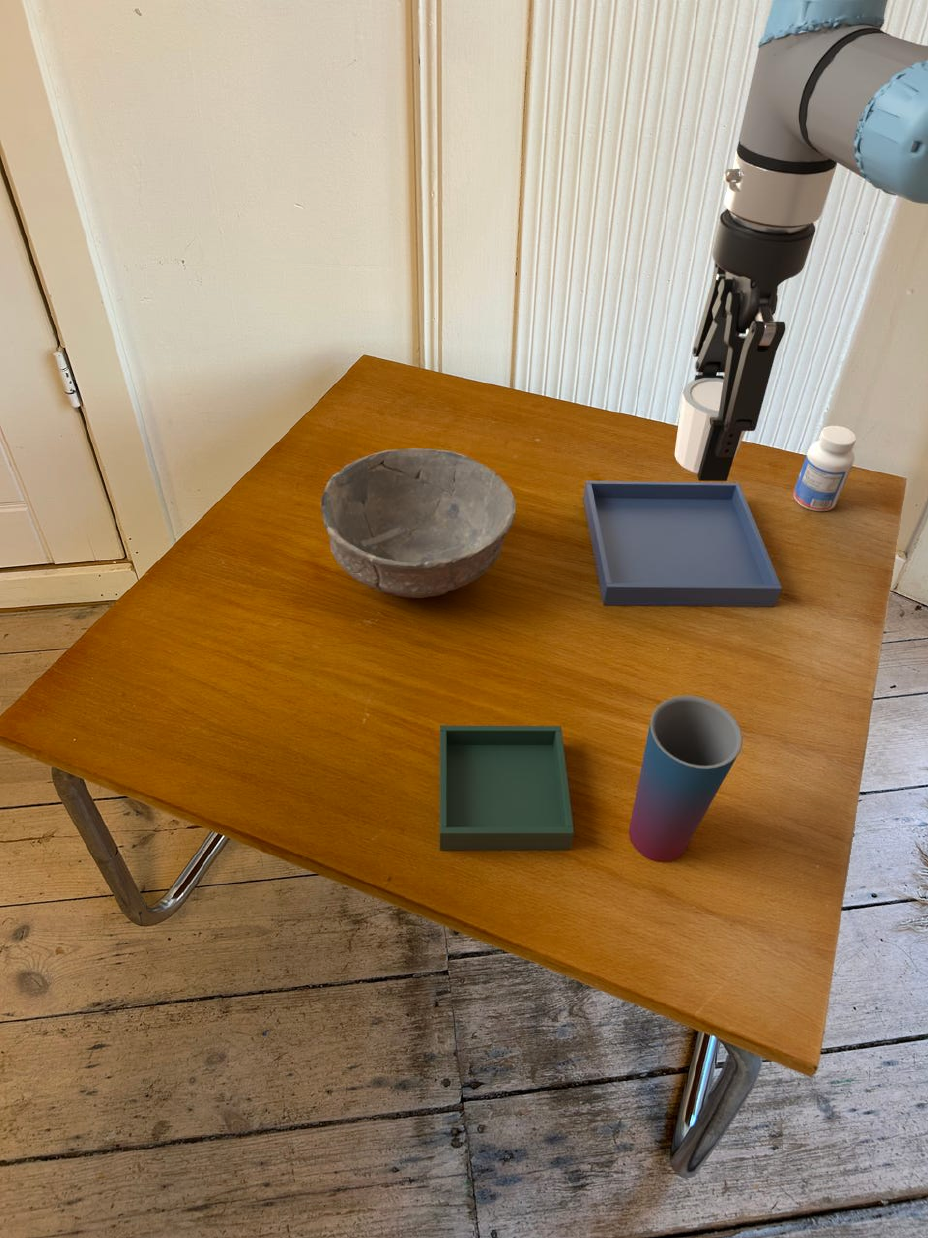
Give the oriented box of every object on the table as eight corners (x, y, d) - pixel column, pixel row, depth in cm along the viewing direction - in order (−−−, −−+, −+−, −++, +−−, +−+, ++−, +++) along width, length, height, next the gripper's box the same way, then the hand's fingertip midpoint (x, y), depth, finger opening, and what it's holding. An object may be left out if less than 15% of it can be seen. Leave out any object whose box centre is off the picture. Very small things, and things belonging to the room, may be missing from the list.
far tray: (775, 606, 95) (782, 588, 93) (603, 605, 95) (606, 586, 93) (733, 500, 109) (739, 482, 107) (583, 498, 108) (585, 480, 106)
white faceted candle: (740, 482, 83) (760, 419, 78) (668, 474, 83) (684, 411, 78) (735, 442, 87) (754, 380, 82) (667, 434, 88) (682, 373, 83)
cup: (708, 824, 76) (754, 719, 65) (681, 886, 71) (725, 783, 61) (636, 790, 78) (669, 682, 67) (606, 847, 74) (636, 742, 63)
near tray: (570, 850, 74) (574, 833, 72) (439, 850, 73) (439, 833, 71) (558, 743, 81) (561, 725, 79) (439, 743, 81) (439, 725, 79)
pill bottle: (808, 481, 112) (833, 416, 105) (844, 501, 109) (872, 436, 103) (783, 497, 110) (807, 432, 103) (819, 518, 107) (846, 452, 100)
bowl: (536, 543, 102) (544, 474, 95) (463, 659, 89) (466, 589, 81) (382, 495, 108) (379, 426, 100) (291, 597, 94) (280, 526, 87)
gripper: (696, 170, 75) (648, 401, 92) (755, 267, 62) (686, 518, 78) (780, 172, 76) (717, 402, 92) (858, 269, 62) (767, 519, 78)
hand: (703, 455), depth 85 cm, fingers closed on white faceted candle, 7 cm apart
